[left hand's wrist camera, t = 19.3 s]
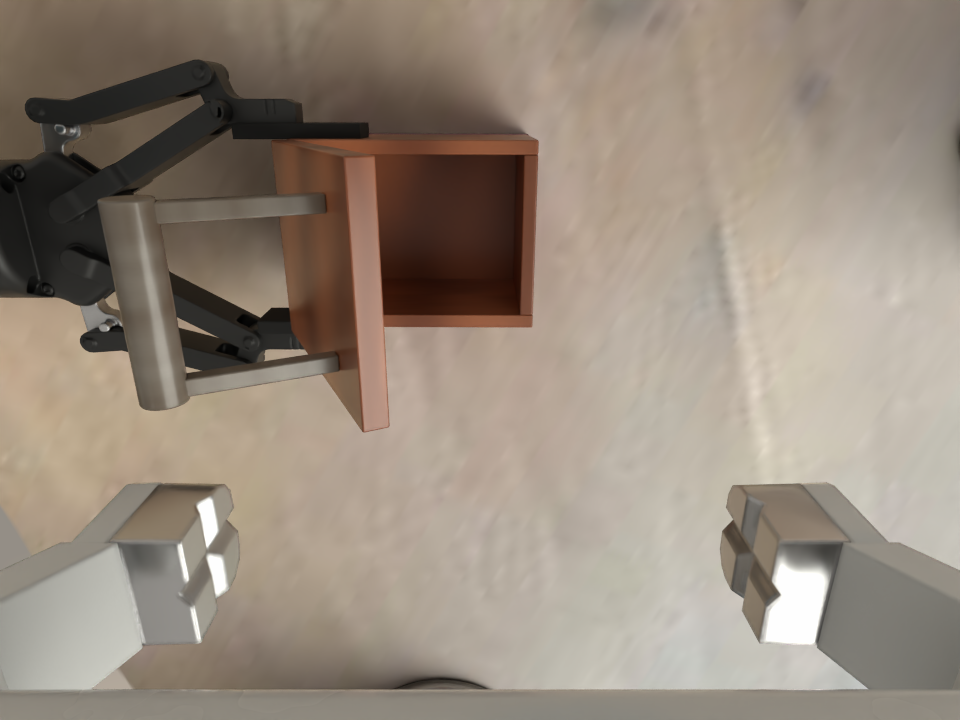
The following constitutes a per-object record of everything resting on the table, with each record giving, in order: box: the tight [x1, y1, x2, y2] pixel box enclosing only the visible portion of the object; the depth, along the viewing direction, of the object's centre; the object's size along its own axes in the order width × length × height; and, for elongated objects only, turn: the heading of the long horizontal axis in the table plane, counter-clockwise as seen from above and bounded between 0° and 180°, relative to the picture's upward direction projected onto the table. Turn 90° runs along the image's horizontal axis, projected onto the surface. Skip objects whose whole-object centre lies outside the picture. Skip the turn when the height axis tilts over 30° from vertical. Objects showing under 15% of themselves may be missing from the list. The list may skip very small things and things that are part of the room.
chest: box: [287, 133, 539, 327], centre depth 38 cm, size 13×10×9 cm
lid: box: [97, 140, 389, 432], centre depth 26 cm, size 13×10×8 cm
